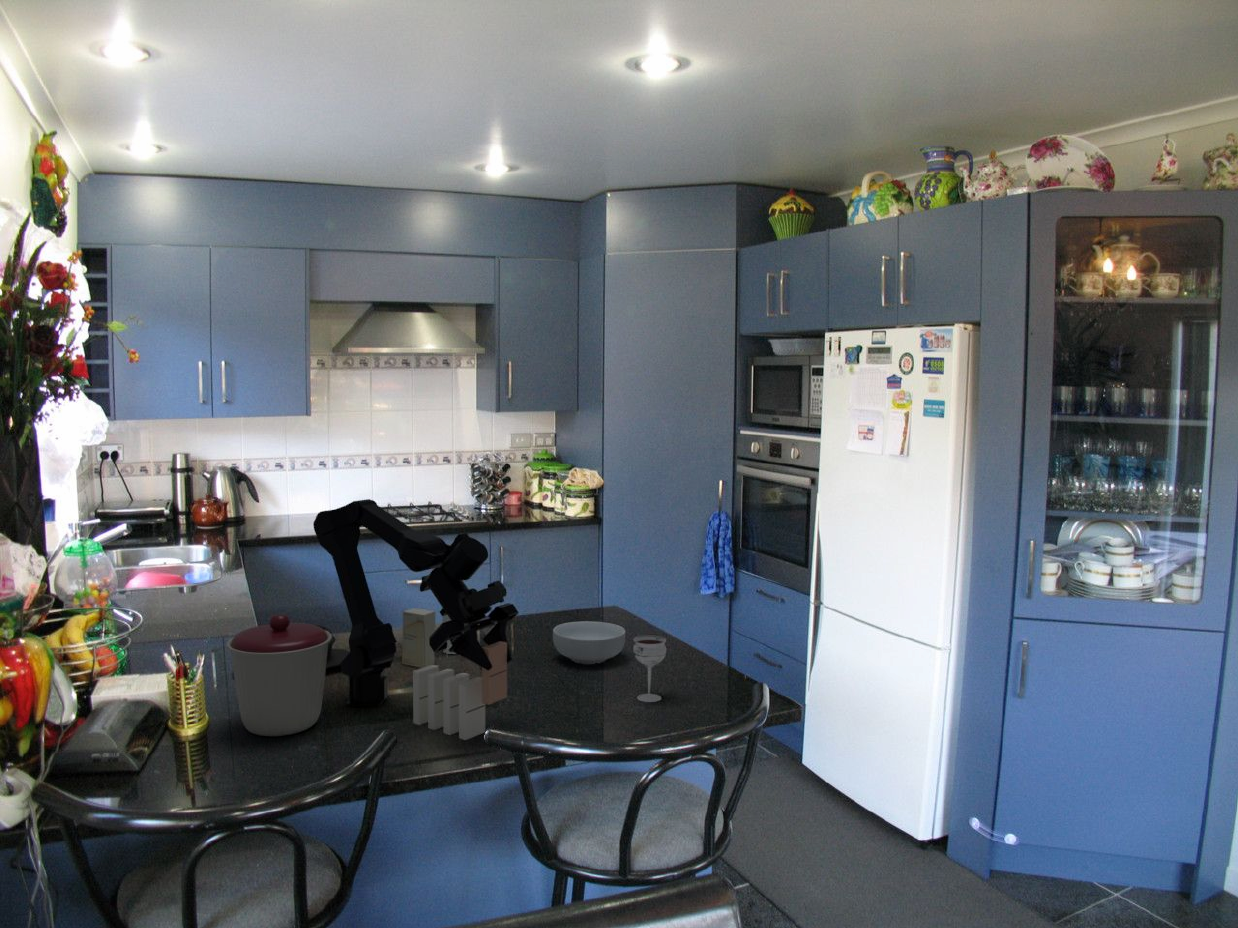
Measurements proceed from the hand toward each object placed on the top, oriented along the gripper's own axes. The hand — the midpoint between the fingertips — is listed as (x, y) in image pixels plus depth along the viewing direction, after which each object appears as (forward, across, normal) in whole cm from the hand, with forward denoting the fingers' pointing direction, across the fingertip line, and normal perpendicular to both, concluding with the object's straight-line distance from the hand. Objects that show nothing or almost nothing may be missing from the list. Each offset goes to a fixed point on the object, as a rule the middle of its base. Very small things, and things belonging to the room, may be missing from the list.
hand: (500, 665), depth 169 cm
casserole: (-35, +6, +54) cm, 65 cm away
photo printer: (-22, +38, +41) cm, 60 cm away
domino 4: (+6, -1, +13) cm, 15 cm away
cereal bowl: (0, +49, +20) cm, 53 cm away
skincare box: (-21, +24, +41) cm, 52 cm away
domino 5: (+4, 0, +6) cm, 7 cm away
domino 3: (+3, -1, +16) cm, 17 cm away
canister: (-16, -18, +36) cm, 43 cm away
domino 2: (0, -1, +19) cm, 19 cm away
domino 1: (-3, -1, +22) cm, 22 cm away
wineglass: (+17, +34, +2) cm, 38 cm away
